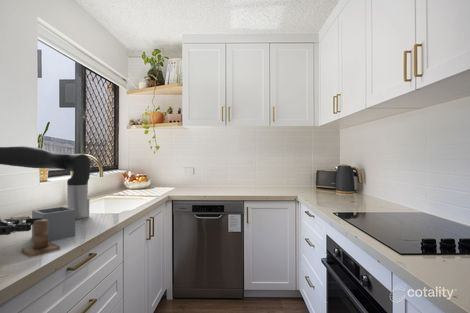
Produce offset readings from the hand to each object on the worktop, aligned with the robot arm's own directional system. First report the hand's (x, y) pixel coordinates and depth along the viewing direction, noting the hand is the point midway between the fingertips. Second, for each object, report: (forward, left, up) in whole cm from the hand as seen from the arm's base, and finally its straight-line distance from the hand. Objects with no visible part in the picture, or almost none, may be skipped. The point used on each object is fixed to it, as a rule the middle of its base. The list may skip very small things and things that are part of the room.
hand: (36, 223), depth 88 cm
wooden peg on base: (-1, +1, -9) cm, 9 cm away
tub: (-10, -13, -9) cm, 19 cm away
